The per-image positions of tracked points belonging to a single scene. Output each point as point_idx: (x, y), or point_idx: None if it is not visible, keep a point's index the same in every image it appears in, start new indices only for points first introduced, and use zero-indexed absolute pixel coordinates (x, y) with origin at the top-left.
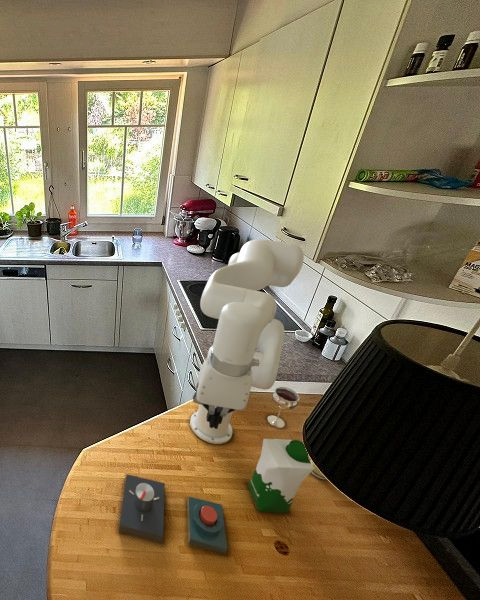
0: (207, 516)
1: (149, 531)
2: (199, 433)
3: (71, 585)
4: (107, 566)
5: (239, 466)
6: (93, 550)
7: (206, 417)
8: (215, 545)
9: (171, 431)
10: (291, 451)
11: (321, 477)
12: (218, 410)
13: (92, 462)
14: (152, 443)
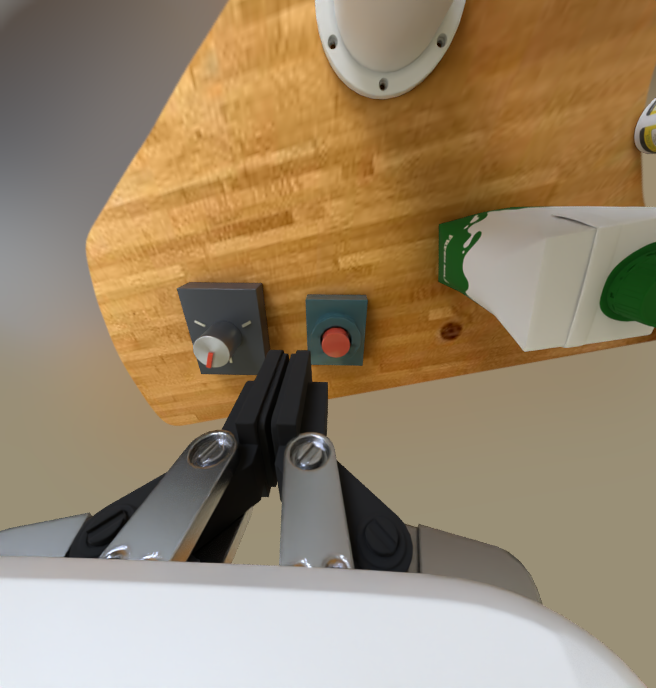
0: (332, 351)
1: (246, 372)
2: (342, 66)
3: (181, 420)
4: (211, 398)
5: (437, 171)
6: (187, 388)
7: (250, 381)
8: (345, 364)
9: (257, 78)
10: (624, 307)
11: (650, 152)
12: (281, 492)
13: (107, 257)
14: (213, 155)
